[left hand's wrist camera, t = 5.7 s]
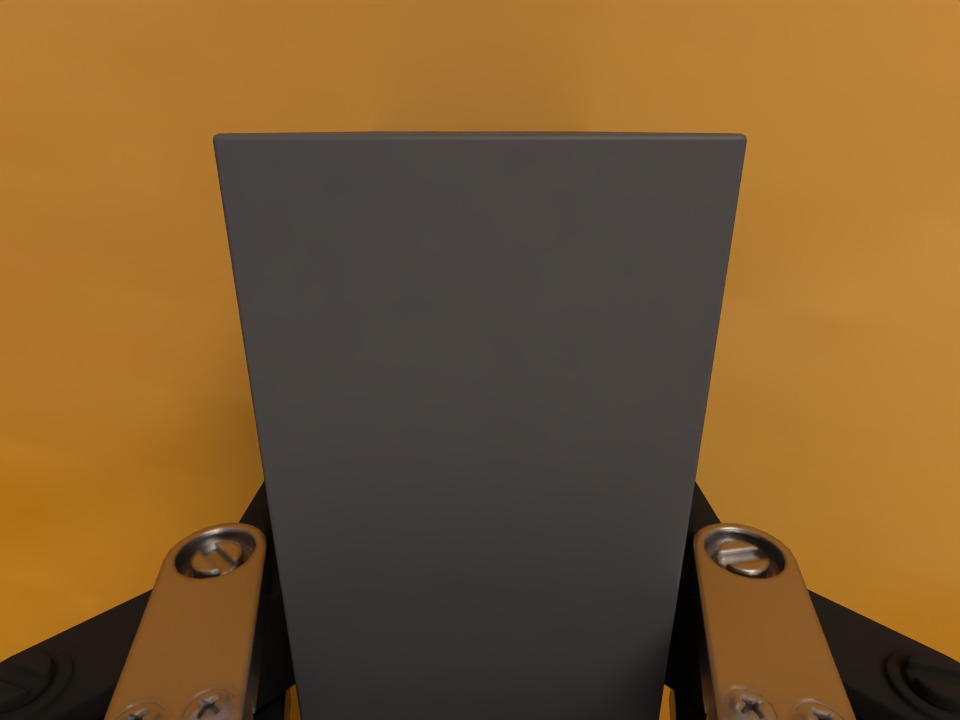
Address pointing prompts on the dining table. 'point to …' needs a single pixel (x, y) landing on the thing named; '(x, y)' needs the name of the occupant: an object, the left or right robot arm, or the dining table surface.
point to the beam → (479, 406)
